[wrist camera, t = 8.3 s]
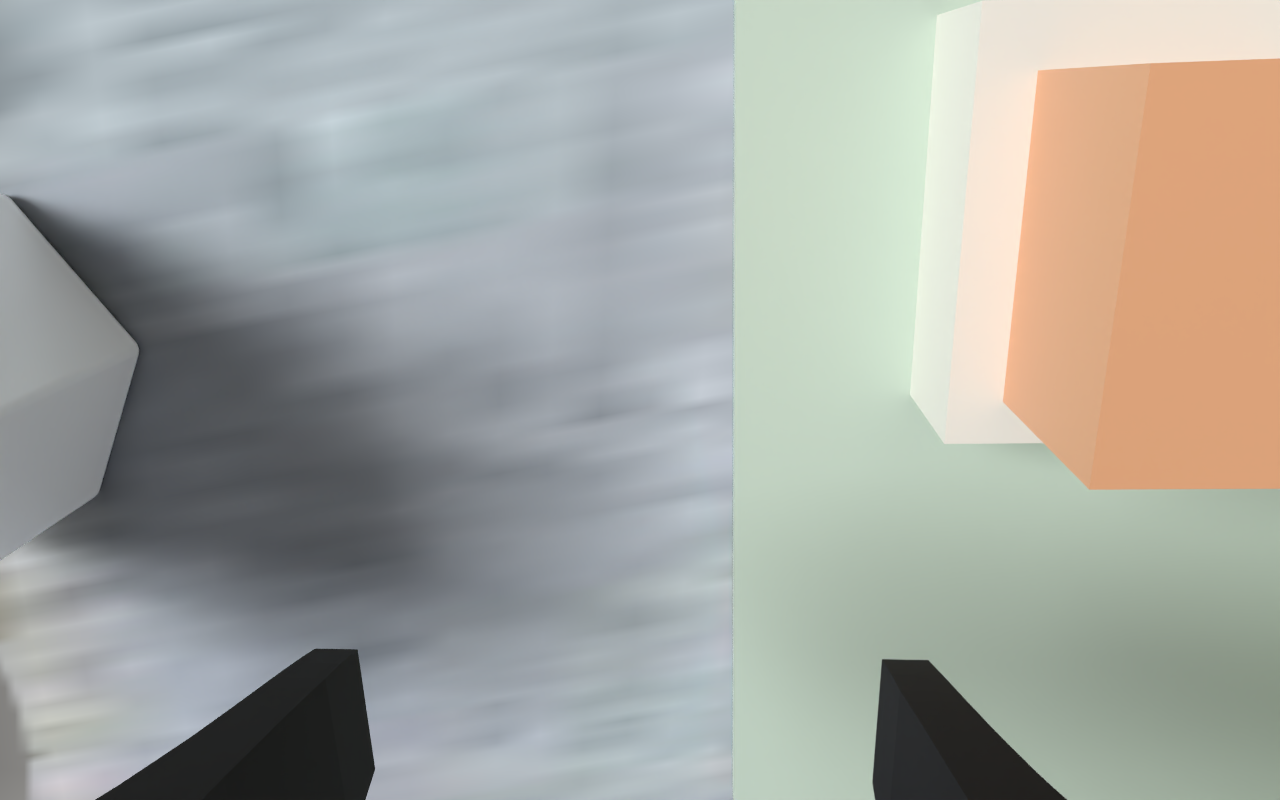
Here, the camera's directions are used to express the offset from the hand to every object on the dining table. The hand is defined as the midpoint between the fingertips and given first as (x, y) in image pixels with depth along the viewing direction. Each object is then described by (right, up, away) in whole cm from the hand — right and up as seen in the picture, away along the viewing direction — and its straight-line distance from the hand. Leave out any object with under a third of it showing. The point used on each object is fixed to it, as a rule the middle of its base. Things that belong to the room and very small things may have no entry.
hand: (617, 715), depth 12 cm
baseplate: (+11, +4, +9) cm, 14 cm away
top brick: (+9, +7, +4) cm, 12 cm away
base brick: (+9, +8, +7) cm, 14 cm away
